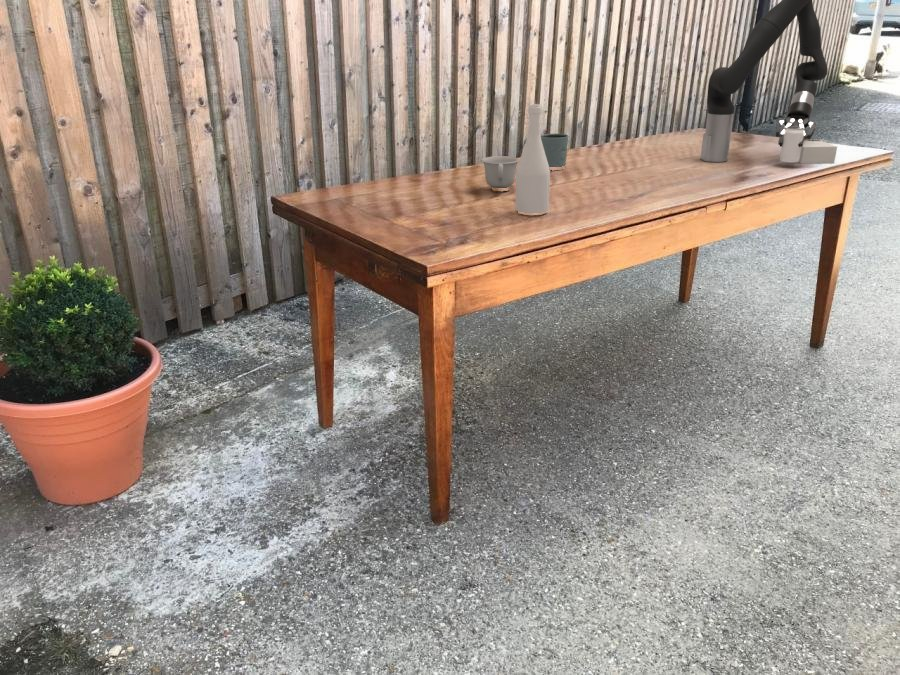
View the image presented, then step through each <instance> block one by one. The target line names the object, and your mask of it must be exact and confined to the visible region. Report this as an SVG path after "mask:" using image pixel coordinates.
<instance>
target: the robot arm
mask: <svg viewBox="0 0 900 675" xmlns="http://www.w3.org/2000/svg"><path fill="white" fill-rule="evenodd" d="M795 18H797V25H798V36H799V38H798V39H799V53H800V56H803V57H810V58H812V59H813V60H811V61H804V62H801V63H799V64H798V65H797V67H796V69H795V79H796V80H795V84H796V85H795V86H796V87H795V91H794V94H793V97H792V99H791V102H790V105H789V108H788V112H787V114H786V118H785V119H783V120H781V119H780V118H779V119H778V118H777V119H776V120H775V121H776V122H775V137H776V138H779V139H778V142H777V144H778V146H779V147H781V148H782V143H783V138H784V132H785V130H786V129H787V127H788V126H798V127H800V128H801V127H803V128H804V129H803V130H804V137H803V140H802V142H800V143H799V144H798V146H799V147H800V146H801V147H802V146H803V143H804V142H805V140H806V139H807V140H810V139H811V138H812V136H813V135H814V132H815V131H816V129H817V128H818V127H817V126H818V121H813V122H812V121H810V117H811V115H812V111H813V108H814V104H815V103H814V102H815V97H816V94H817V89H818V86H817V83H816V82H817V81H822V80H824V79H825V78H826V76H827V74H828V68H829V67H828V64H827V62H826V59H825V55H824V53H823V49H822V48H823V47H822V32H821V25H820V23H819V19H818V17H817V14H816V12H815V9H814V4H813V0H781V1H780V2H778V3H777V4H776V5H774V6H773V7H772V8H771V9H769V10H768V11H767V12H766V13H765V14H764V15H763V16H761V18H760V19H759V20H758V22H757V23H756V24H755V25H754V27H753V28H752V29H751V31H750V32H749V34H748V36H747V38H746V41H745V44H744V47H743V50H742V51H741V53H740V54H739V55H738V56H737V58H736V59H735V60H734V62H733V63H731V65H729V66H728V67H726V66H722V67H717V68H716V69H714V70H713V71H712V72H711V74H710V77H709V79H708V86H707V94H706V95H707V96H706V97H707V98H706V105H707V116H706V123H705V124H706V125H705V130H704V133H703V134H702V142H701V150H700V158H701V160H702V161H704V162H711V163H712V162H713V163H721V162H727V161H728V157H729V152H730V144H731V137H732V130H733V122H734V115H735V108H736V107H735V105H734V104H733V102H732V95H733V94H735V93H736V92H738V91H739V89H741V87H742V85H744V83H745V82H746V80H747V79H748V77H749V76H750V74H751V73H752V71H753V70H754V68H755V67H756V65H757V64H758V63H759V62H760V61H761V60H762V58H763V57H764V56H765V55H766V53H767V52H768V51H769V49H771V47H772V46H773V45H774V44H775V43H776V42H777V40H778V39H779V38H780V37H781V36H782V35H783V34H784V32H785V30H786V29H787V28H788V27H789V25H790V24H791V23H792V22H793V21H794V19H795ZM783 125H784V128H783V130H782V131H780V128H782V126H783ZM807 127H809V130H808V132H807V133H806V131H805V129H807ZM796 128H797V127H796Z"/></svg>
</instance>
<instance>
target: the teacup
mask: <svg viewBox="0 0 900 675" xmlns="http://www.w3.org/2000/svg"><path fill="white" fill-rule="evenodd" d="M481 161H482V163H483V168H484V175H485V180H486V183H487V185H488V186H490V187H491V188H492V187H493V188H507V187H511V186H512V185H513V184H514V182H515V180H516V170H517V167H518V164H519V161H520V158H517V157H515V156H508V155H507V156H506V155H505V156H504V155H495V156H486V157H484V158H482V159H481Z"/></svg>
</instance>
